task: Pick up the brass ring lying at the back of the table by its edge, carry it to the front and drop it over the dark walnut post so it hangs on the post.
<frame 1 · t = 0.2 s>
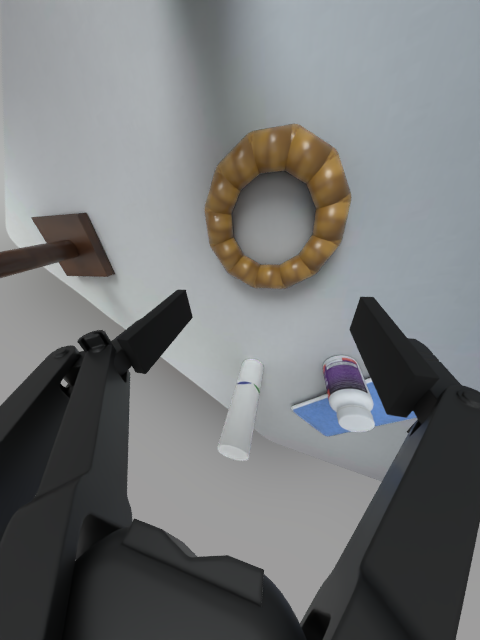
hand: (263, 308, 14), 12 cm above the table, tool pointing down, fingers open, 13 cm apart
pill bottle: (339, 365, 30), on the table
tube: (253, 365, 36), on the table
ring: (270, 224, 20), point 1 cm above the table
post: (80, 246, 29), on the table
tablet: (348, 406, 36), on the table
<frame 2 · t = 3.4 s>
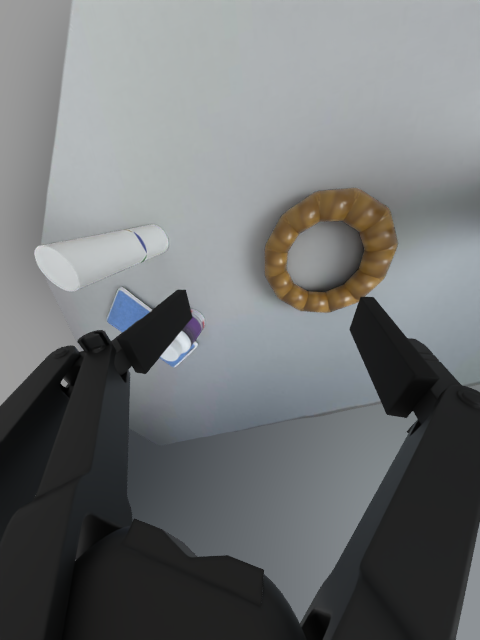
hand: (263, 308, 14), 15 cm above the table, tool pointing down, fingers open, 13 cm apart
pill bottle: (193, 318, 36), on the table
tube: (157, 239, 29), on the table
ring: (322, 260, 23), point 1 cm above the table
tablet: (153, 329, 41), on the table
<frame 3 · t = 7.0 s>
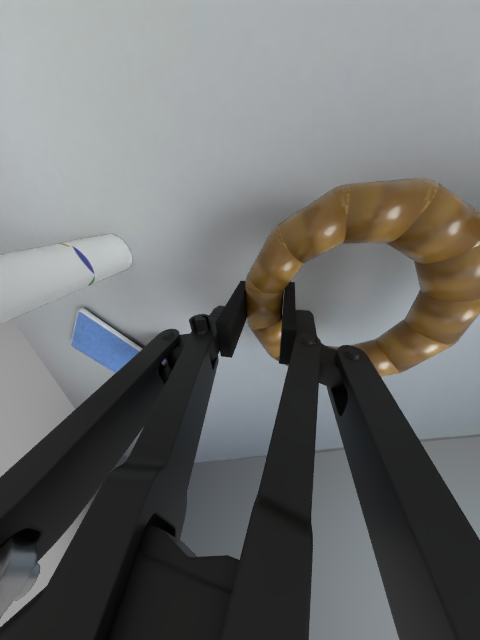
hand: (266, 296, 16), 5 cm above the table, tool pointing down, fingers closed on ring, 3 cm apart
tube: (117, 252, 23), on the table
ring: (343, 306, 14), point 6 cm above the table, touching gripper
tablet: (127, 355, 35), on the table
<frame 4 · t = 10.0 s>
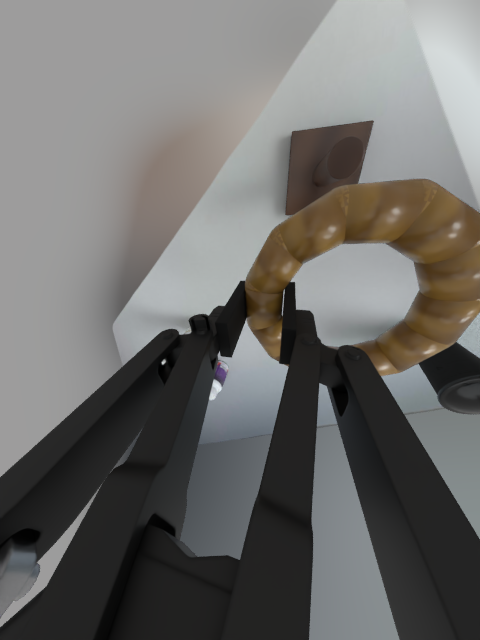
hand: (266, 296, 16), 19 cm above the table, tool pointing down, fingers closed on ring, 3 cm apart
pill bottle: (220, 365, 53), on the table
drinking cup: (417, 332, 34), on the table
ring: (343, 306, 14), point 21 cm above the table, touching gripper
post: (321, 175, 25), on the table
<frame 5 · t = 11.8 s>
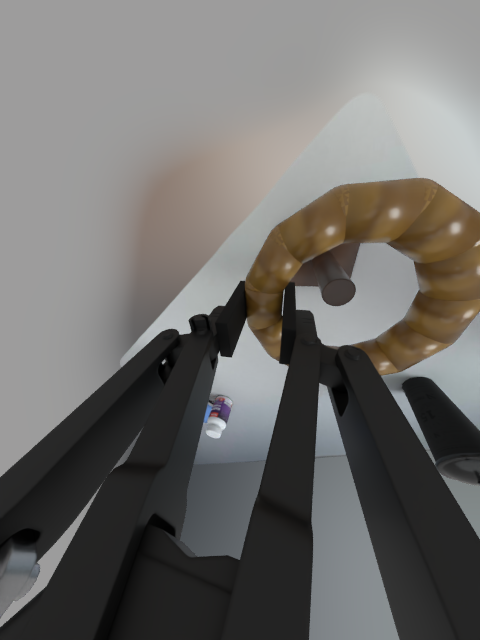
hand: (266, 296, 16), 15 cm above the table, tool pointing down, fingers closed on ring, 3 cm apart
pill bottle: (224, 400, 55), on the table
drinking cup: (417, 384, 35), on the table
ring: (343, 306, 14), point 16 cm above the table, touching gripper
post: (319, 253, 26), on the table
when the fingers open (11 cm above the table, at t = 13.3 s): ring drops 9 cm, resting on post.
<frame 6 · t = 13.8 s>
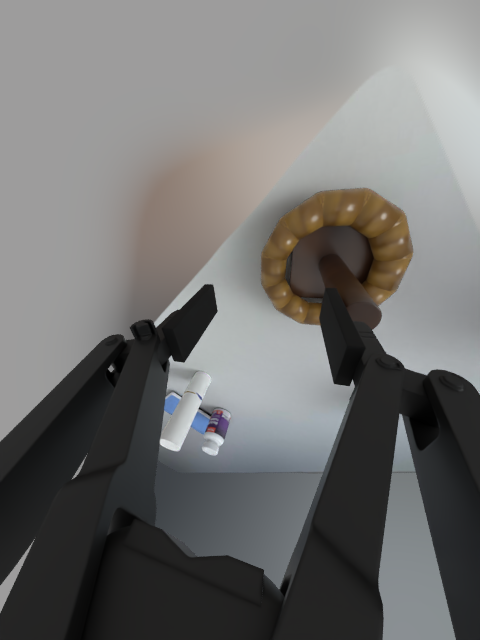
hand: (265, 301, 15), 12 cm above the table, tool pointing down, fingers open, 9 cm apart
pill bottle: (222, 412, 51), on the table
tube: (203, 376, 44), on the table
ring: (326, 269, 21), point 3 cm above the table, touching post
post: (328, 261, 23), on the table
tablet: (191, 412, 56), on the table
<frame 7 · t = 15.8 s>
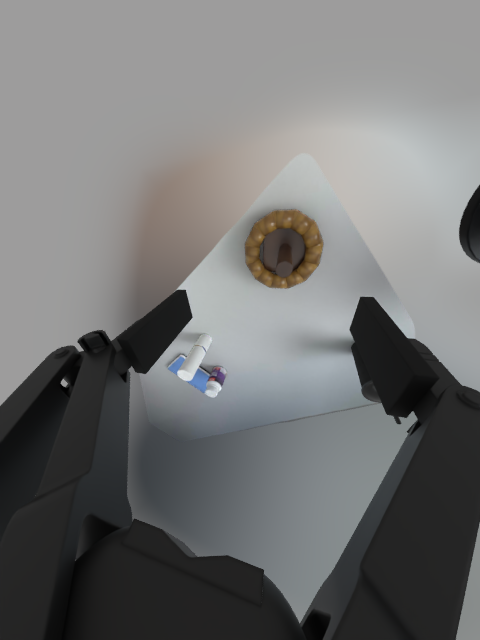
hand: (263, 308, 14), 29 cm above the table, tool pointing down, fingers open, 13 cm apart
pill bottle: (220, 370, 67), on the table
tube: (206, 338, 59), on the table
drinking cup: (361, 346, 48), on the table
ring: (281, 253, 36), point 3 cm above the table, touching post
post: (285, 249, 38), on the table
tablet: (194, 373, 71), on the table
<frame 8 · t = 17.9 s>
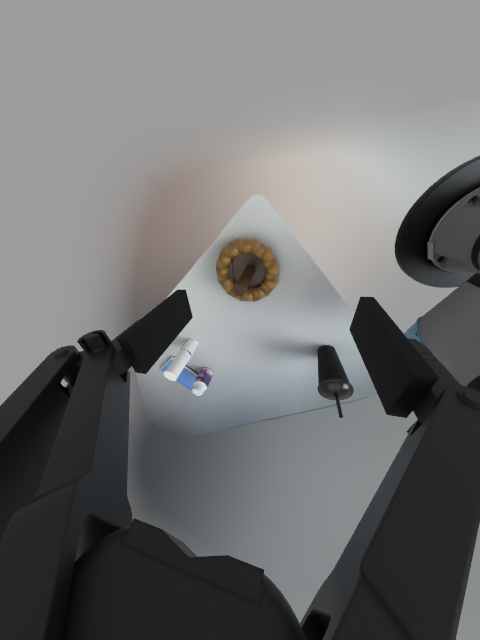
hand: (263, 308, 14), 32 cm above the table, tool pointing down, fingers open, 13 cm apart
pill bottle: (207, 371, 73), on the table
tube: (192, 343, 66), on the table
drinking cup: (326, 350, 54), on the table
ring: (246, 272, 43), point 3 cm above the table, touching post
post: (251, 268, 45), on the table
tablet: (185, 374, 78), on the table
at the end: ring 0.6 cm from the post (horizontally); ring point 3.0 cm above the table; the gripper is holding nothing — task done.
